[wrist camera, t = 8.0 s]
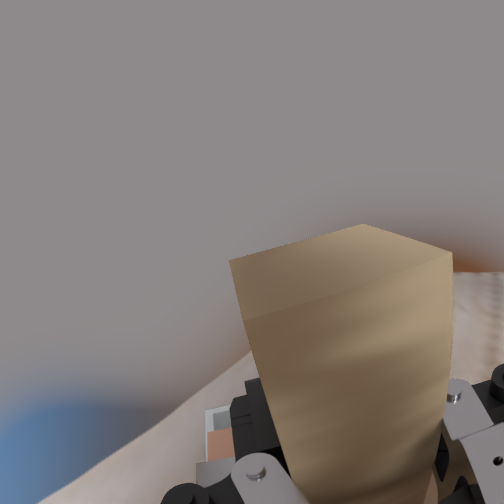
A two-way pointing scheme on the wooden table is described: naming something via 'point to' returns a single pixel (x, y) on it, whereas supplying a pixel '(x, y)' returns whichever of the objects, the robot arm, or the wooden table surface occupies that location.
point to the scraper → (350, 361)
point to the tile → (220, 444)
